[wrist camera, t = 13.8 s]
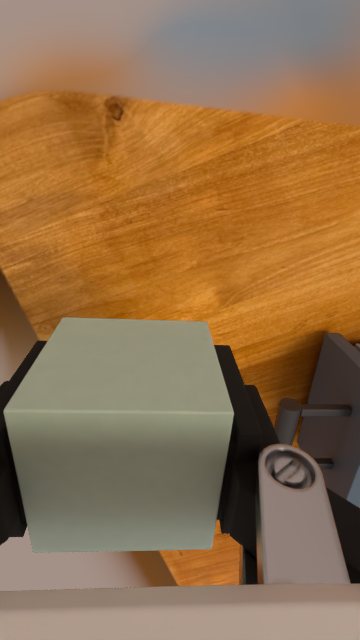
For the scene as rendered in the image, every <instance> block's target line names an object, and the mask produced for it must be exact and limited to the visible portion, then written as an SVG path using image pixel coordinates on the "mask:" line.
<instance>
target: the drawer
mask: <svg viewBox="0 0 360 640" xmlns="http://www.w3.org/2000/svg"><path fill="white" fill-rule="evenodd" d="M299 416H304V417H303V420H302V424H301V428H300V432H299V436H298V439H297V443H298V445H299V447H300V449H301V450H303V451H305V452H306V453H307V454H308V455H310V456H311V457H312V458H313V459H314V460H315V461H316V463H317V464H318V465H319V467H320V469H321V472H322V474H323V478H324V482H325V486H326V487H327V488H328V489H330V490H331V491H333V492H335V493H336V494H338V495H339V496H341V497H343V498H344V499H346V500H348V501H349V502H351V503H352V504H354V505H356V506H357V507H360V344H355V347H354V346H352V345H351V344H350V343H349V342H348V341H347V340H346V339H345V338H344V337H343V336H342V335H341V334H339V333H325V337H324V340H323V344H322V348H321V352H320V356H319V359H318V363H317V367H316V371H315V375H314V379H313V382H312V386H311V390H310V394H309V398H308V401H307V404H300V403H299V402H298V401H296V400H294V399H291V398H283V399H282V400H281V401H280V404H279V408H278V413H277V417H276V422H275V427H274V430H275V432H276V434H277V437H278V439H279V441H280V444H287V445H290V446H292V444H293V440H294V436H295V432H296V428H297V424H298V420H299Z"/></svg>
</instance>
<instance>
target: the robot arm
mask: <svg viewBox="0 0 360 640" xmlns="http://www.w3.org/2000/svg"><path fill="white" fill-rule="evenodd" d="M46 343H47V341H37V342H36V344H35V345H34V346H33V348H32V349H31V351H30V352H29V353H28V355H27V356H26V358H25V359H24V361H23V362H22V364H21V365H20V366H19V368H18V369H17V371H16V372H15V374H14V375H13V376H12V378H11V379H10V381H6V382H4V383H3V384H2V385H1V386H0V545H1V544H2V543H4V542H5V541H6V540H7V539H8V538H9V537H23V536H24V533H25V530H26V528H27V521H26V516H25V512H24V507H23V502H22V497H21V493H20V488H19V483H18V478H17V474H16V469H15V464H14V459H13V455H12V450H11V445H10V441H9V436H8V431H7V426H6V422H5V417H4V409H5V407H6V405H7V404H8V402H9V401H10V399H11V398H12V396H13V395H14V393H15V391H16V390H17V388H18V387H19V385H20V384H21V382H22V380H23V379H24V377H25V376H26V374H27V373H28V371H29V369H30V368H31V366H32V365H33V363H34V362H35V360H36V358H37V357H38V355H39V354H40V352H41V351H42V349H43V348H44V346H45V344H46ZM214 347H215V351H216V354H217V357H218V361H219V364H220V368H221V371H222V374H223V378H224V381H225V384H226V388H227V391H228V394H229V398H230V401H231V404H232V408H233V411H234V417H233V423H232V429H231V435H230V441H229V447H228V453H227V460H226V466H225V472H224V478H223V484H222V490H221V496H220V502H219V508H218V514H217V520H220V526H221V532H222V533H230V536H231V537H232V538H233V539H235V540H236V541H237V542H238V543H239V544H240V562H239V585H213V586H172V587H171V586H170V587H137V588H136V587H134V588H98V589H66V590H31V591H0V640H360V508H359V507H357V506H356V505H354V504H352V503H351V502H349V501H348V500H346V499H344V498H343V497H341V496H339V495H338V494H336V493H335V492H333V491H331V490H330V489H328V488H327V487H326V486H325V482H324V478H323V474H322V472H321V469H320V467H319V465H318V464H317V463H316V461H315V460H314V459H313V458H312V457H311V456H310V455H308V454H307V453H306V452H305V451H303V450H301V449H299V448H297V447H294V446H290V445H287V444H280V441H279V439H278V437H277V434H276V432H275V430H274V427H273V425H272V423H271V420H270V418H269V416H268V413H267V411H266V409H265V406H264V404H263V402H262V399H261V397H260V395H259V392H258V390H257V388H256V386H254V385H244V383H243V380H242V377H241V375H240V372H239V369H238V367H237V364H236V362H235V359H234V356H233V354H232V351H231V348H230V346H228V345H214Z"/></svg>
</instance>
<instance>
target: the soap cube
mask: <svg viewBox="0 0 360 640" xmlns="http://www.w3.org/2000/svg"><path fill="white" fill-rule="evenodd" d="M4 417H5V422H6V426H7V431H8V436H9V441H10V445H11V450H12V455H13V459H14V464H15V469H16V474H17V478H18V483H19V488H20V493H21V497H22V502H23V507H24V512H25V516H26V521H27V526H28V530H29V535H30V539H31V545H32V549H33V552H34V553H45V552H46V553H47V552H48V553H50V552H99V551H144V550H145V551H146V550H194V549H212V545H213V539H214V533H215V527H216V521H217V514H218V508H219V502H220V496H221V490H222V484H223V478H224V472H225V466H226V460H227V453H228V447H229V441H230V435H231V429H232V423H233V417H234V411H233V408H232V404H231V401H230V398H229V394H228V391H227V388H226V384H225V381H224V378H223V374H222V371H221V368H220V364H219V361H218V357H217V354H216V351H215V347H214V344H213V341H212V337H211V334H210V331H209V327H208V324H207V322H200V321H168V320H135V319H103V318H70V317H63V318H62V319H61V321H60V322H59V324H58V326H57V327H56V329H55V330H54V332H53V333H52V335H51V337H50V338H49V340H48V341H47V343H46V344H45V346H44V348H43V349H42V351H41V352H40V354H39V355H38V357H37V358H36V360H35V362H34V363H33V365H32V366H31V368H30V369H29V371H28V373H27V374H26V376H25V377H24V379H23V380H22V382H21V384H20V385H19V387H18V388H17V390H16V391H15V393H14V395H13V396H12V398H11V399H10V401H9V402H8V404H7V405H6V407H5V409H4Z"/></svg>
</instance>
